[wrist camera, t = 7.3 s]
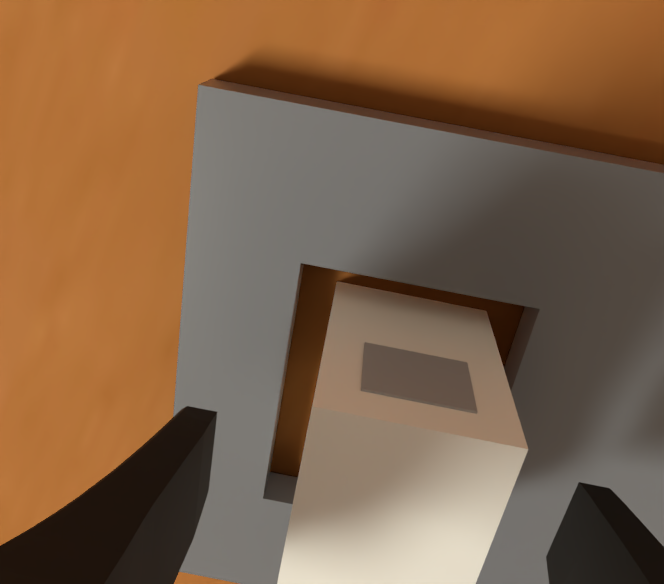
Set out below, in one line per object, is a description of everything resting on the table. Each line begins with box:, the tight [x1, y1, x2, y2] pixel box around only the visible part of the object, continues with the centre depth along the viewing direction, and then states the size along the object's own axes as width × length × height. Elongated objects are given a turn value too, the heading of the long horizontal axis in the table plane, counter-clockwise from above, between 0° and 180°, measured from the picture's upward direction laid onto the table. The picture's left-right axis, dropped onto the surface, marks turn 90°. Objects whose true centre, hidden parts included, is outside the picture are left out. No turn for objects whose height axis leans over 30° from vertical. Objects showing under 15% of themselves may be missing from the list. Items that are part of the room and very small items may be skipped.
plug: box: [277, 281, 528, 584], centre depth 14 cm, size 7×4×5 cm, turn 170°
